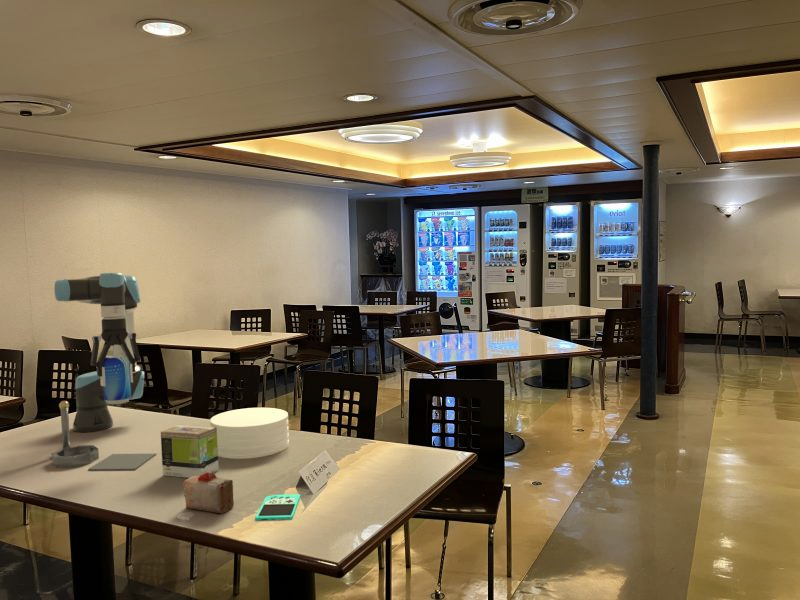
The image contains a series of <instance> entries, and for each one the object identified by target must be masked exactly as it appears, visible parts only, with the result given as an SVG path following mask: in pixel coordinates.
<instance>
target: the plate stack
mask: <svg viewBox="0 0 800 600" xmlns="http://www.w3.org/2000/svg"><path fill="white" fill-rule="evenodd" d="M209 423H210V426H214V427H217V445H218V458H222V459H223V458H224V459H225V458H226V459H232V460H233V459H235V460H238V459H239V460H242V459H243V460H245V459H254V458H255V459H256V458H261V457H267V456H271V455H274V454H277V453H278V454H279V453H280V452H282V451H284V450H286V449H287V448H288V447H289V446H290V440H289V438H290V434H289V431H290V430H289V429H290V428H289V413H288V412H287V411H286V410H283V409H280V408H273V407H247V408H240V409H232V410H228V411H224V412H221V413H218V414H215V415H214V416H212V417H211V418H210V421H209Z"/></svg>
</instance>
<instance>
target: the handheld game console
mask: <svg viewBox="0 0 800 600" xmlns="http://www.w3.org/2000/svg"><path fill="white" fill-rule="evenodd" d="M300 498H301V494H300V493H297V494H296V493H294V494H293V493H291V494H286V493H285V494H272V495H267V496H266V497H265V498H264V500H263V501H262V503H261V506H260V508H259V510H258V512H257V514H256V515H255V521H277V520H278V521H279V520H293V518H294V516H295V513H296V511H297V507H298V504H299V502H300Z"/></svg>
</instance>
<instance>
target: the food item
mask: <svg viewBox="0 0 800 600" xmlns="http://www.w3.org/2000/svg"><path fill="white" fill-rule="evenodd" d="M213 472H214V471H213ZM213 472H212V473H208V472H207V473H205V474H204V475H201V476H192V477H189V478H187V479H185V480H183V481H182V482H183V484H182V485H183V492H184V495H183V497H184V499H185V509H188V510H189V509H190V510H199V511H203V512H205V511H206V512H210V513H214V514H215V513H218V514H224V513H227V511H229V510H231V509H233V507H234V505H235V503H234V484H233V483H234V482H233V479H228V478H220V477H218V476H216V474H215V472H214V473H213Z"/></svg>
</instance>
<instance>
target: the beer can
mask: <svg viewBox="0 0 800 600" xmlns="http://www.w3.org/2000/svg"><path fill="white" fill-rule="evenodd" d="M102 367H105V383H106V386H103V389H104V400H105V401H106V403H107V405H120V404H126V403H128V402H129V399H130V398H131V388H130V369H129V360H128V359H127V358H126V355H124V354H117V355H114V354H109V355H108V354H107V355H106V358H105V360H104V362H103V365H102Z"/></svg>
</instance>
